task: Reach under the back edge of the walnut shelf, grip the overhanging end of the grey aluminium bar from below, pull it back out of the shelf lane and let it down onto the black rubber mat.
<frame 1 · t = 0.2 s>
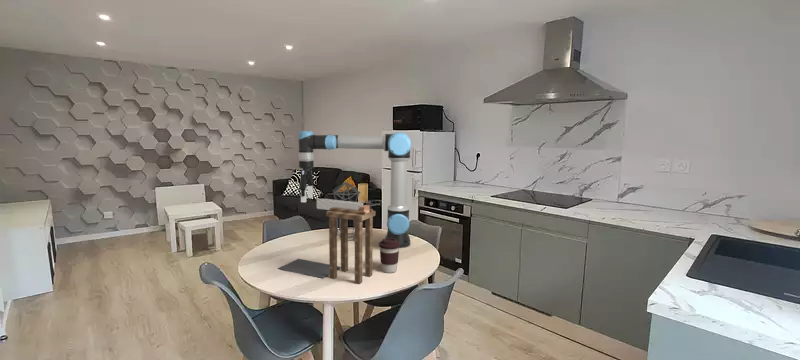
hand: (307, 199, 201), 28 cm above the table, tool pointing down, fingers open, 13 cm apart
stand: (351, 276, 169), on the table
geometric lantern: (346, 239, 228), on the table
coffee cup: (389, 270, 178), on the table
bar: (339, 210, 168), point 30 cm above the table, touching stand
mat: (309, 268, 179), on the table
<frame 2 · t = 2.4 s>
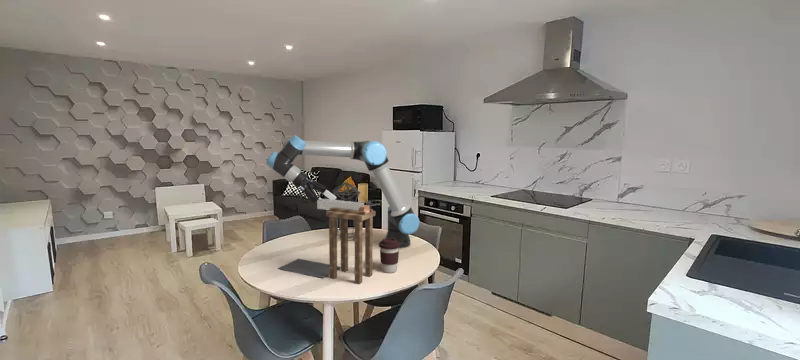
hand: (332, 203, 182), 30 cm above the table, tool tilted 50°, fingers open, 13 cm apart
bar: (340, 210, 168), point 30 cm above the table, touching gripper
everything else where it was.
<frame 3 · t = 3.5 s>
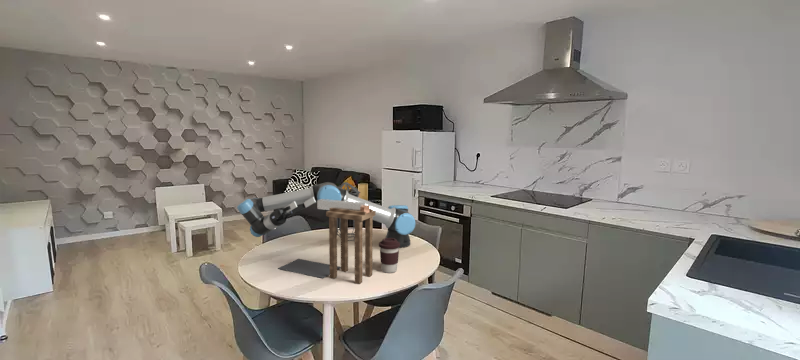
hand: (305, 201, 176), 32 cm above the table, tool pointing upward, fingers open, 13 cm apart
bar: (340, 210, 168), point 30 cm above the table, touching stand
everything else where it was.
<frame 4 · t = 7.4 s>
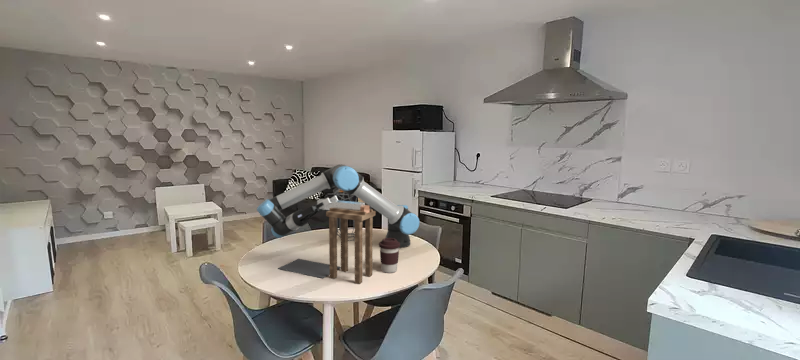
hand: (332, 199, 169), 35 cm above the table, tool pointing upward
bar: (340, 210, 168), point 30 cm above the table, touching gripper
everything else where it was.
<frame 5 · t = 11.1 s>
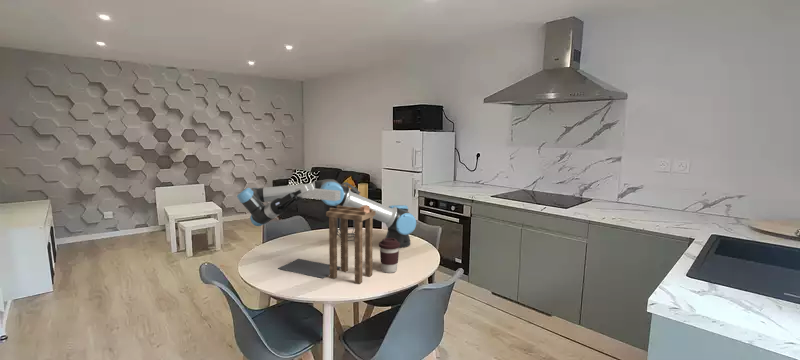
hand: (309, 187, 172), 39 cm above the table, tool pointing upward, fingers closed on bar, 4 cm apart
bar: (317, 198, 171), point 35 cm above the table, touching gripper
everything else where it was.
when the fingers open (29 cm above the table, at t = 14.3 s): bar drops 24 cm, resting on mat.
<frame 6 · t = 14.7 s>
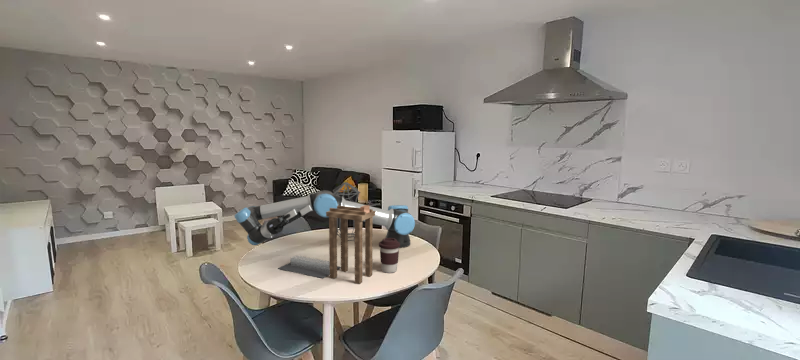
hand: (303, 209, 177), 28 cm above the table, tool pointing upward, fingers open, 10 cm apart
bar: (312, 268, 178), resting on mat
everything else where it was.
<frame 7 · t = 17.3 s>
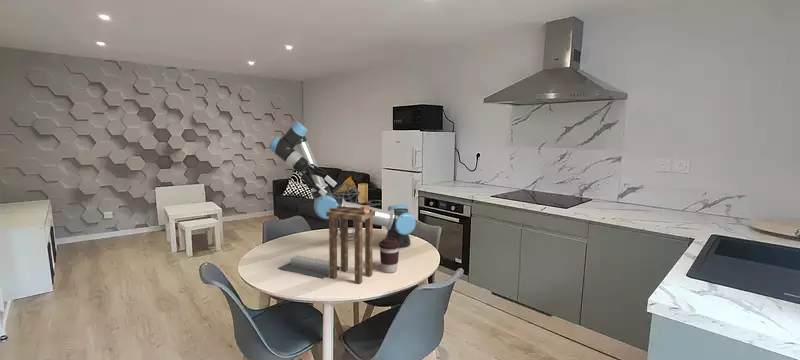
hand: (330, 189, 187), 36 cm above the table, tool tilted 50°, fingers open, 13 cm apart
nothing on the table moved.
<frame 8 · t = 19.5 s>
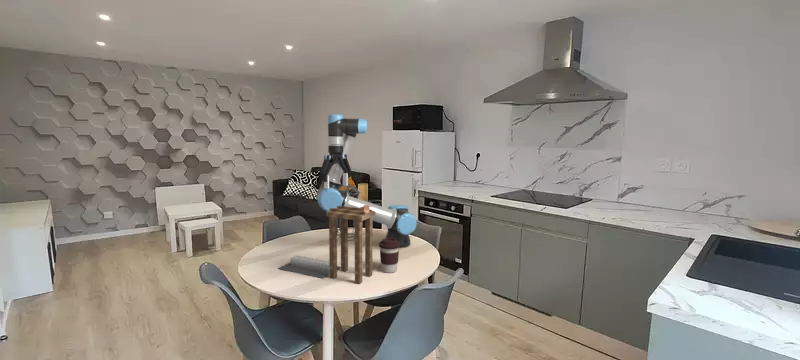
hand: (336, 186, 192), 37 cm above the table, tool pointing down, fingers open, 13 cm apart
nothing on the table moved.
at the end: bar inside the target area on the mat (1.5 cm from its centre), point 0.4 cm above the mat's base; bar touching mat; the gripper is holding nothing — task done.
